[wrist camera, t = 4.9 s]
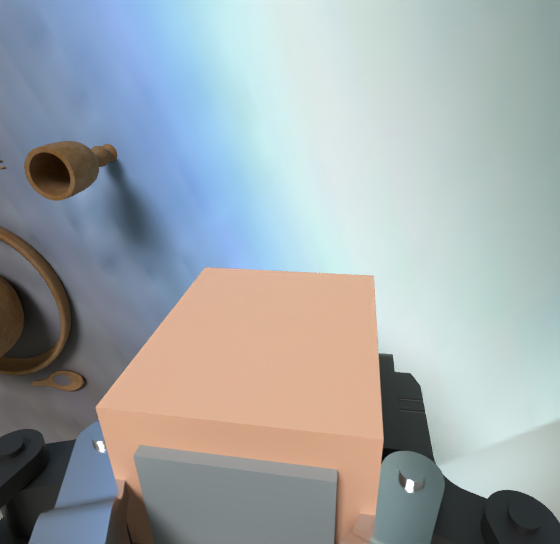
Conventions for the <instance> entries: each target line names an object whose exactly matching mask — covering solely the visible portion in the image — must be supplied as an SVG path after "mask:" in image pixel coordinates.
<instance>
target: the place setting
mask: <svg viewBox="0 0 560 544" xmlns="http://www.w3.org/2000/svg"><path fill="white" fill-rule="evenodd" d="M116 158H117V152H116V149H115V148H114V147H113V146H112V145H109V144H105V145H103V146H95V147H93V148H92V149H91V150H90V149H89V148H88V147H87V146H85V145H83V144H81V143H78V142H73V141H63V142H57V143H52V144H48V145H44V146H41V147H38V148H35V149H33V150H32V151H31V152H29V154H28V155H27V157H26V159H25V165H24V168H25V174H26V177H27V179H28V181H29V183H30V185H31V186H32V187H33V189H34V190H35V191H36V192H37V193H39V194H40V195H41V196H43V197H45V198H47V199H50V200H63V199H66V198H69V197H71V196H73V195H75V194H77V193H79V192H81V191H83V190H85V189H86V188H88V187H89V186H90V185H91V184H92V183H93V182H94V181H95V180H96V178H97V176H98V173H99V167H102V166H105V165H107V164H108V163H109V162H113V161H115V160H116ZM1 161H2V160H0V162H1ZM3 168H5V167H0V169H3ZM0 240H2V241H4V242H5V243H7V244H8V245H10V246H11V247H13V248H14V249H15V250H16V251H18V252H19V253H20V254H21V255H22V256H24V257H25V258H26V259H27V260H28V261H29V262H30V263H31V264H32V265H33V266H34V268H35V269H36V270H37V271H38V272H39V273H40V275H41V276H42V277H43V279H44V280H45V282H46V283H47V285H48V287H49V288H50V290H51V292H52V294H53V296H54V298H55V301H56V303H57V307H58V310H59V314H60V319H61V335H60V339H59V341H58V342H57V343H56V345H55V346H54V347H52V348H51V349H50V350H49V351H47V352H46V353H44V354H41V355H39V356H36V357H31V358H22V359H21V358H9V357H4V356H3V355H4V354H5V353H6V352H7V351H8V350H10V349H11V348H12V347H13V346H14V344H15V343H16V342H17V340H18V339H19V337H20V335H21V333H22V331H23V327H24V312H23V308H22V305H21V302H20V300H19V297H18V295H17V293H16V291H15V289H14V288H13V287H12V286H11V284H10V283H9V282H8V281H6V280H5V279H4V278H2V277H1V276H0V374H7V375H23V374H29V373H33V372H36V371H39V370H41V369H43V368H45V367H46V366H48V365H49V364H50V363H51V362H53V361H54V360H55V359H56V358H57V356H58V355H59V354H60V353H61V351H62V350H63V348H64V346H65V344H66V342H67V340H68V336H69V333H70V327H71V311H70V306H69V301H68V298H67V295H66V292H65V290H64V288H63V285H62V283H61V281H60V280H59V278H58V276H57V275H56V273H55V272H54V270H53V269H52V268H51V266H50V265H49V264H48V262H47V261H46V260H45V259H44V258H43V257H42V256H41V255H40V254H39V253H38V252H37V251H36V250H35V249H34V248H33V247H32V246H31V245H29V244H28V243H27V242H25V241H24V240H23V239H22V238H20V237H18V236H17V235H15V234H14V233H12V232H10V231H8V230H6V229H4V228H2V227H0ZM56 375H66V376H68V377H69V378H70V380H71V383H70V384H69V385H66V386H60V385H57V384H55V383H54V381H53V377H54V376H56ZM31 383H32V385H33V386H52V387H55V388H58V389H61V390H65V391H74V390H77V389H79V388H80V387H81V386H82V385H83V384H84V383H85V381H84V379H83V377H82V376H81V375H80V374H78V373H75V372H72V371H66V370H60V371H56V372H54V373H52V374H51V375H50V376H49V377H48V378H47V379H44V380H39V381H33V382H31Z"/></svg>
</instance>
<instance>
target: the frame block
mask: <svg viewBox="0 0 560 544" xmlns="http://www.w3.org/2000/svg"><path fill="white" fill-rule="evenodd" d="M96 411H97V415H98V418H99V422H100V425H101V429H102V433H103V436H104V440H105V444H106V447H107V451H108V455H109V458H110V462H111V466H112V469H113V473H114V477H115V479H119V480H125V482H126V486H127V490H128V494H129V500H128V507H127V524H128V528H129V531H130V535H131V539H132V542H136V543H141V544H340V542H341V540H342V538H343V537H344V535H345V534H346V533H347V532H349V533H351V532H352V531H353V529H354V527H355V524H356V522H357V520H358V517H359V515H360V513H361V514H368V515H376V506H377V497H378V488H379V478H380V469H381V459H382V450H383V441H384V437H383V421H382V404H381V388H380V371H379V354H378V338H377V321H376V305H375V288H374V276H367V275H348V274H328V273H308V272H288V271H268V270H248V269H228V268H208V267H205V268H204V270H203V271H202V272H201V273H200V275H199V276H198V277H197V279H196V280H195V281H194V282H193V284H192V285H191V286H190V287H189V289H188V290H187V291H186V293H185V294H184V295H183V296H182V298H181V299H180V300H179V302H178V303H177V304H176V305H175V307H174V308H173V309H172V310H171V312H170V313H169V314H168V316H167V317H166V318H165V319H164V321H163V322H162V323H161V324H160V326H159V327H158V328H157V330H156V331H155V332H154V333H153V335H152V336H151V337H150V339H149V340H148V341H147V342H146V344H145V345H144V346H143V347H142V349H141V350H140V351H139V353H138V354H137V355H136V356H135V358H134V359H133V360H132V361H131V363H130V364H129V365H128V367H127V368H126V369H125V370H124V372H123V373H122V374H121V376H120V377H119V378H118V379H117V381H116V382H115V383H114V384H113V386H112V387H111V388H110V390H109V391H108V392H107V393H106V395H105V396H104V397H103V398H102V400H101V401H100V402H99V404H98V405H97V406H96Z"/></svg>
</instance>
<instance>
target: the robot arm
mask: <svg viewBox="0 0 560 544" xmlns="http://www.w3.org/2000/svg"><path fill="white" fill-rule="evenodd" d="M378 354H379V371H380V388H381V404H382V421H383V437H384V441H383V450H382V459H381V469H380V478H379V488H378V497H377V506H376V515H368V514H361V513H360V515H359V517H358V520H357V522H356V524H355V527H354V529H353V531H352V532H351V533H349V532H347V533H346V534H345V535H344V537H343V538H342V540H341V542H340V544H560V523H559V521H558V520H557V519H556V517H555V516H554V514H553V513H552V512H551V511H550V510H549V509H548V508H547V507H546V506H545V505H543V504H542V503H541V502H539V501H538V500H536V499H535V498H533V497H531V496H529V495H527V494H524V493H521V492H518V491H513V490H502V491H497V492H495V493H493V494H492V495H490V497H489V498H488V499H486V498H484V497H481V496H479V495H476V494H474V493H471V492H468V491H466V490H464V489H461V488H460V487H458V486H456V485H455V484H453V483H452V482H450V481H449V480H448V479H447V478H446V477H445V476H444V475H443V474H442V472H441V470H440V469H439V467H438V466H437V465H436V463H435V461H434V457H433V452H432V446H431V441H430V435H429V430H428V425H427V419H426V414H425V408H424V403H423V398H422V392H421V387H420V385H419V384H418V382H417V381H416V380H415V378H414V377H413V376H412V375H411V373H400V372H395V371H394V362H393V355H392V354H380V353H378ZM128 500H129V494H128V490H127V486H126V482H125V480H119V479H115V477H114V473H113V469H112V466H111V462H110V458H109V455H108V451H107V447H106V444H105V440H104V436H103V433H102V429H101V425H100V422H99V421H97V422H95V423H93V424H91V425H90V426H88V427H87V428H86V429H84V430H83V431H82V432H81V434H80V435H79V436H78V438H77V439H75V440H69V441H62V442H56V443H49V444H45V441H44V438H43V436H42V434H41V433H40V432H38V431H37V430H33V429H23V430H17V431H14V432H11V433H8V434H6V435H4V436H2V437H0V510H1V512H2V515H3V518H2V519H1V520H0V544H141V543H136V542H132V539H131V535H130V531H129V528H128V524H127V507H128Z"/></svg>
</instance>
